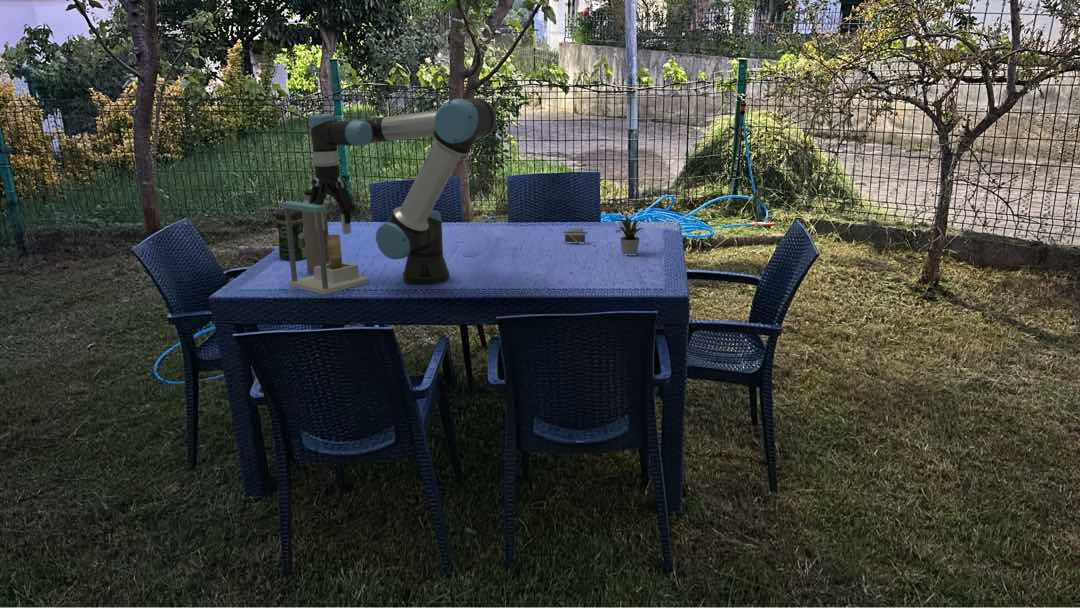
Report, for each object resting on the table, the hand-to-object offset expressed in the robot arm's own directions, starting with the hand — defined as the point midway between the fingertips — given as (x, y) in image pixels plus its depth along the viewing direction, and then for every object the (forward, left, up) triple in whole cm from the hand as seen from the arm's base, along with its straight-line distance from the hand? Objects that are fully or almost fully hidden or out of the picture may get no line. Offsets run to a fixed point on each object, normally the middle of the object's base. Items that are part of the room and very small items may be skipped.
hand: (333, 231), depth 249 cm
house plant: (-55, -89, -17) cm, 106 cm away
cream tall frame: (0, +3, -17) cm, 17 cm away
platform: (-28, -94, -18) cm, 99 cm away
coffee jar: (+43, -13, -17) cm, 48 cm away
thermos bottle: (+16, -5, -17) cm, 24 cm away
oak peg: (0, 0, -15) cm, 15 cm away
